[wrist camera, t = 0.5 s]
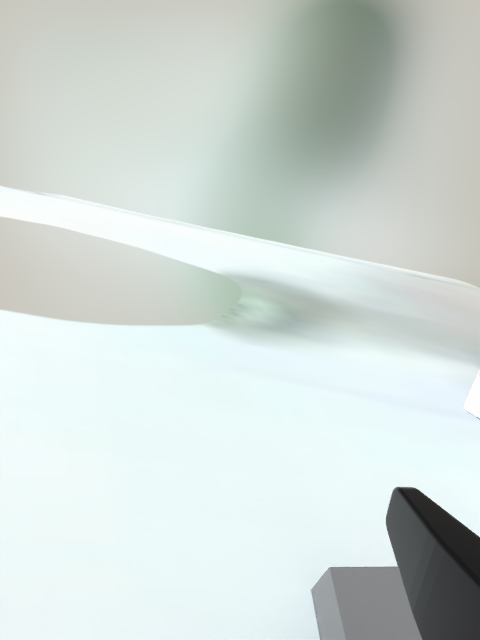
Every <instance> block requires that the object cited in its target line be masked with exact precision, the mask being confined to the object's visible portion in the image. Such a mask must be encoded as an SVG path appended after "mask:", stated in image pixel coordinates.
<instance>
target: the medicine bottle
mask: <svg viewBox="0 0 480 640" xmlns="http://www.w3.org/2000/svg"><path fill="white" fill-rule="evenodd" d="M463 408H464V410H465V411H467V412H469V413H470V414H472V415H474V416H475V417H477V418H479V419H480V371H479V372H478V374H477V376H476V379H475V381H474V383H473V385H472V388H471V390H470V392H469V395H468V397H467V399H466V401H465V404H464V406H463Z"/></svg>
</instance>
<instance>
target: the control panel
mask: <svg viewBox="0 0 480 640" xmlns="http://www.w3.org/2000/svg"><path fill="white" fill-rule="evenodd" d="M311 592H312V597H313V602H314V608H315V613H316V618H317V624H318V629H319V634H320V640H422V638H421V635H420V633H419V630H418V628H417V625H416V622H415V619H414V617H413V614H412V611H411V608H410V605H409V602H408V599H407V595H406V592H405V588H404V585H403V582H402V578H401V575H400V572H399V568H398V567H329V568H328V570H327V571H326V572H325V573H324V575H323V576H322V577H321V578H320V579H319V581H318V582H317V583H316V584H315V586H314V587H313V588H312V589H311Z"/></svg>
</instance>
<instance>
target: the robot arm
mask: <svg viewBox="0 0 480 640" xmlns="http://www.w3.org/2000/svg"><path fill="white" fill-rule="evenodd" d="M386 526H387V531H388V534H389V538H390V541H391V544H392V548H393V551H394V555H395V558H396V561H397V565H398V568H399V572H400V575H401V578H402V582H403V585H404V588H405V592H406V595H407V599H408V602H409V605H410V608H411V611H412V614H413V617H414V619H415V622H416V625H417V628H418V630H419V633H420V635H421V638H422V640H480V537H479V536H477V535H476V534H475V533H474V532H472V531H471V530H470V529H468V528H467V527H466V526H465V525H463V524H462V523H461V522H459V521H458V520H457V519H455V518H454V517H453V516H452V515H450V514H449V513H448V512H446V511H445V510H444V509H443V508H441V507H440V506H439V505H437V504H436V503H435V502H433V501H432V500H431V499H430V498H428V497H427V496H426V495H424V494H423V493H422V492H421V491H419V490H418V489H416V488H413V487H396V488H395V489H394V490H393V492H392V496H391V500H390V504H389V507H388V511H387V515H386Z"/></svg>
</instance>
